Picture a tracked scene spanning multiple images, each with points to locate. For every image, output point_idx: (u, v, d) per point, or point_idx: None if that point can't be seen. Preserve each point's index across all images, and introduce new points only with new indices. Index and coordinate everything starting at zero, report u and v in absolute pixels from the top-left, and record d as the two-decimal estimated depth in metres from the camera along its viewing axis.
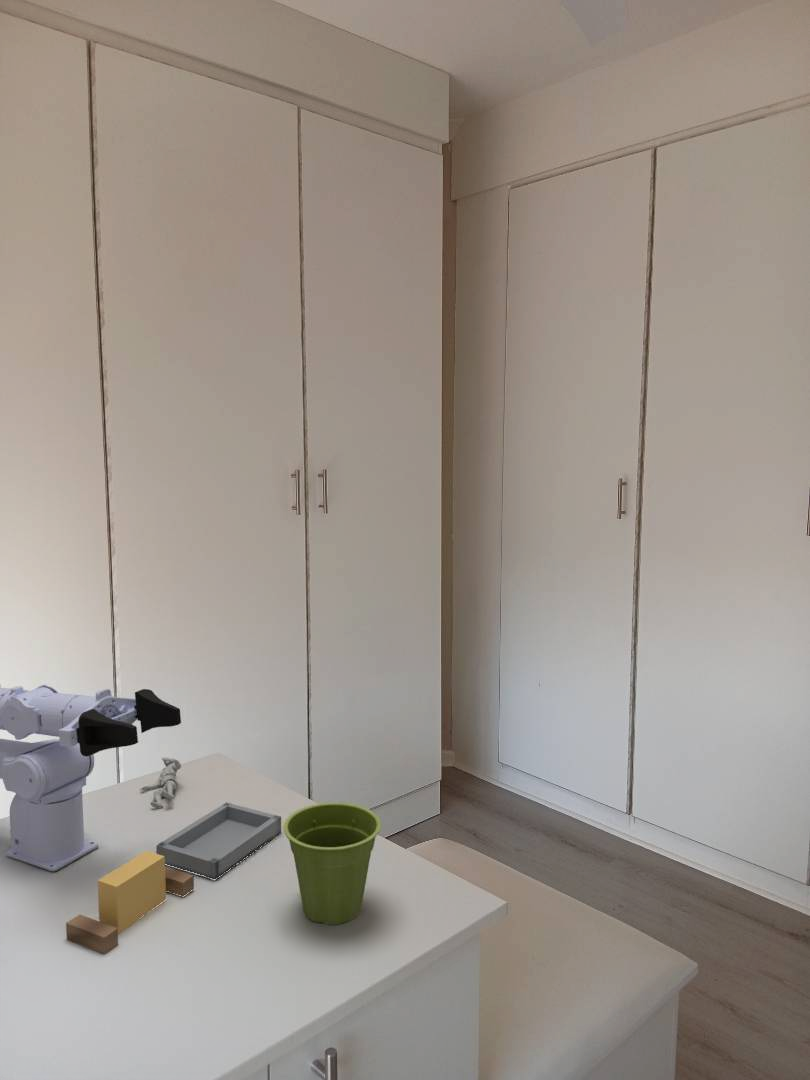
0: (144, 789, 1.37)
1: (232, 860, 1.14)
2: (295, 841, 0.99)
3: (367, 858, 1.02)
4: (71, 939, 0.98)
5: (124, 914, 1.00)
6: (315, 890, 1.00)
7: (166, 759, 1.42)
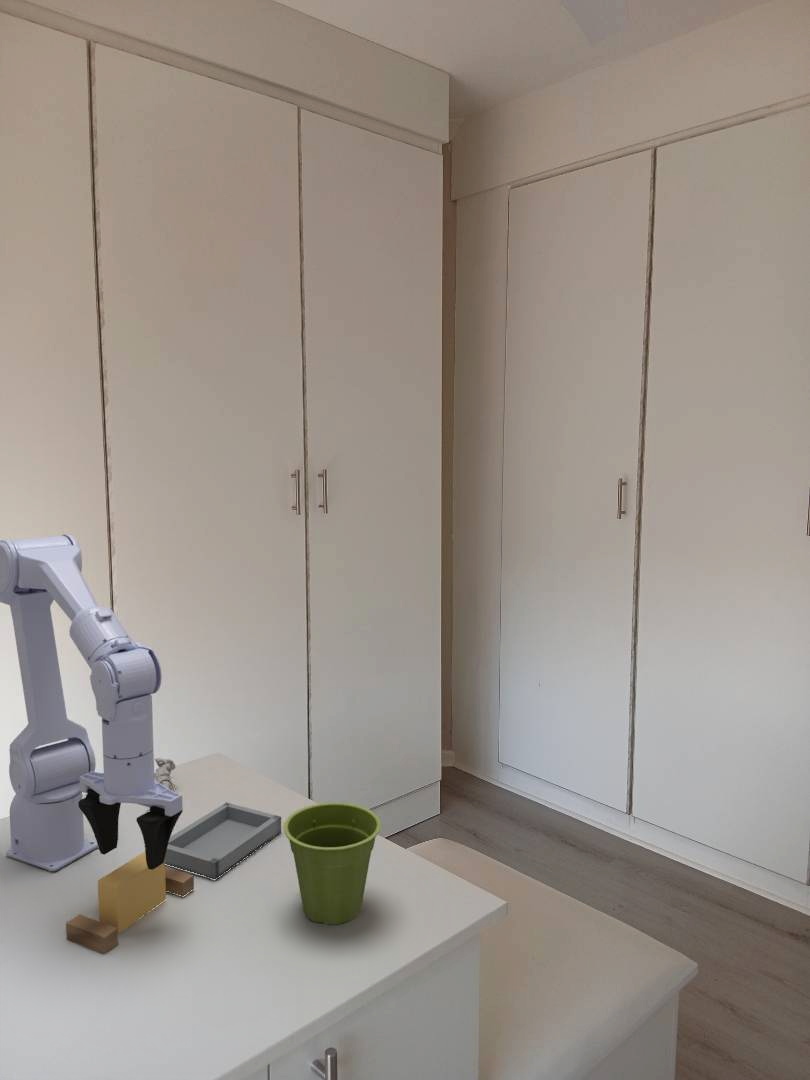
0: None
1: (232, 860, 1.14)
2: (295, 841, 0.99)
3: (367, 858, 1.02)
4: (71, 939, 0.98)
5: (124, 914, 1.00)
6: (315, 890, 1.00)
7: (159, 760, 1.41)
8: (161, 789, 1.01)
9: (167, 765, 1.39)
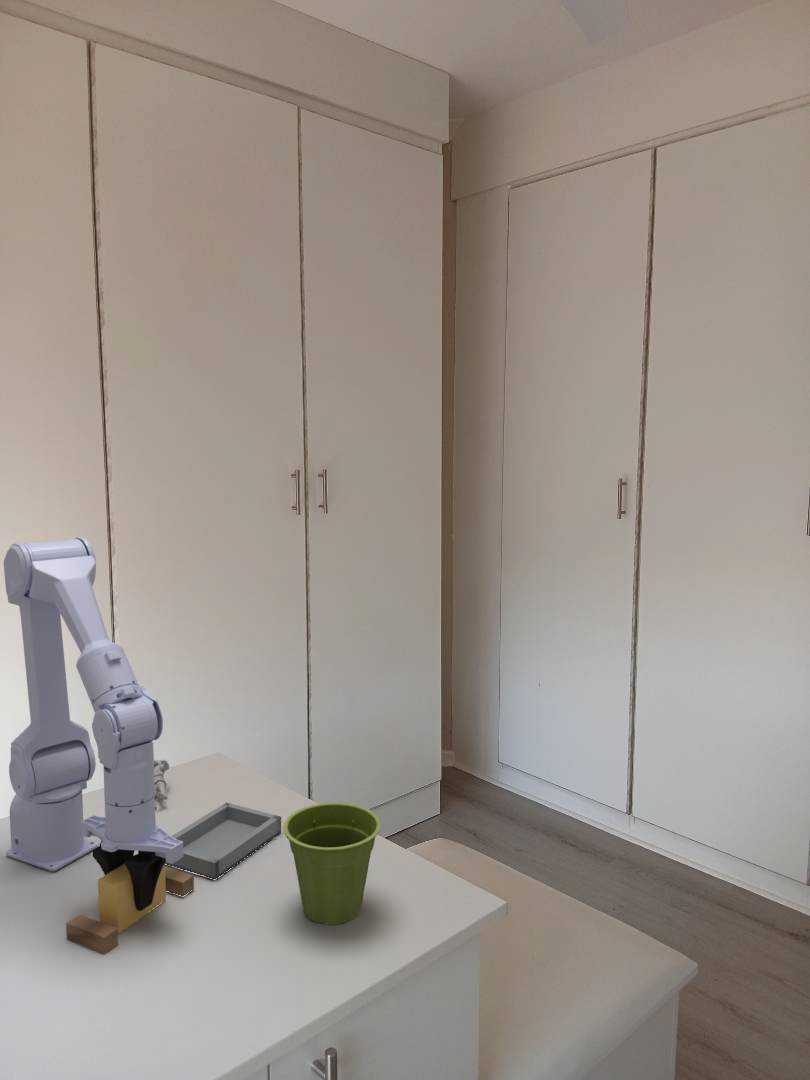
0: None
1: (232, 860, 1.14)
2: (295, 841, 0.99)
3: (367, 858, 1.02)
4: (71, 939, 0.98)
5: (124, 913, 1.00)
6: (315, 890, 1.00)
7: None
8: (162, 835, 1.02)
9: (160, 766, 1.39)
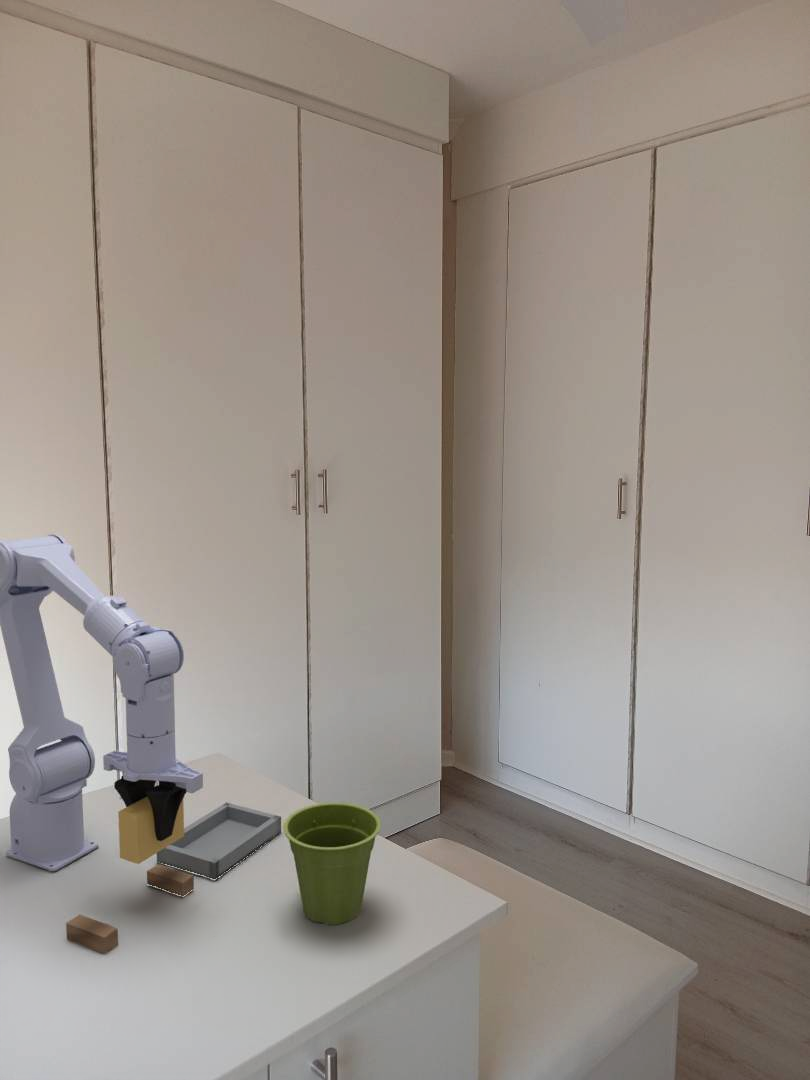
0: None
1: (232, 860, 1.14)
2: (295, 841, 0.99)
3: (367, 858, 1.02)
4: (71, 939, 0.98)
5: (144, 844, 1.02)
6: (315, 890, 1.00)
7: None
8: (182, 767, 1.05)
9: None
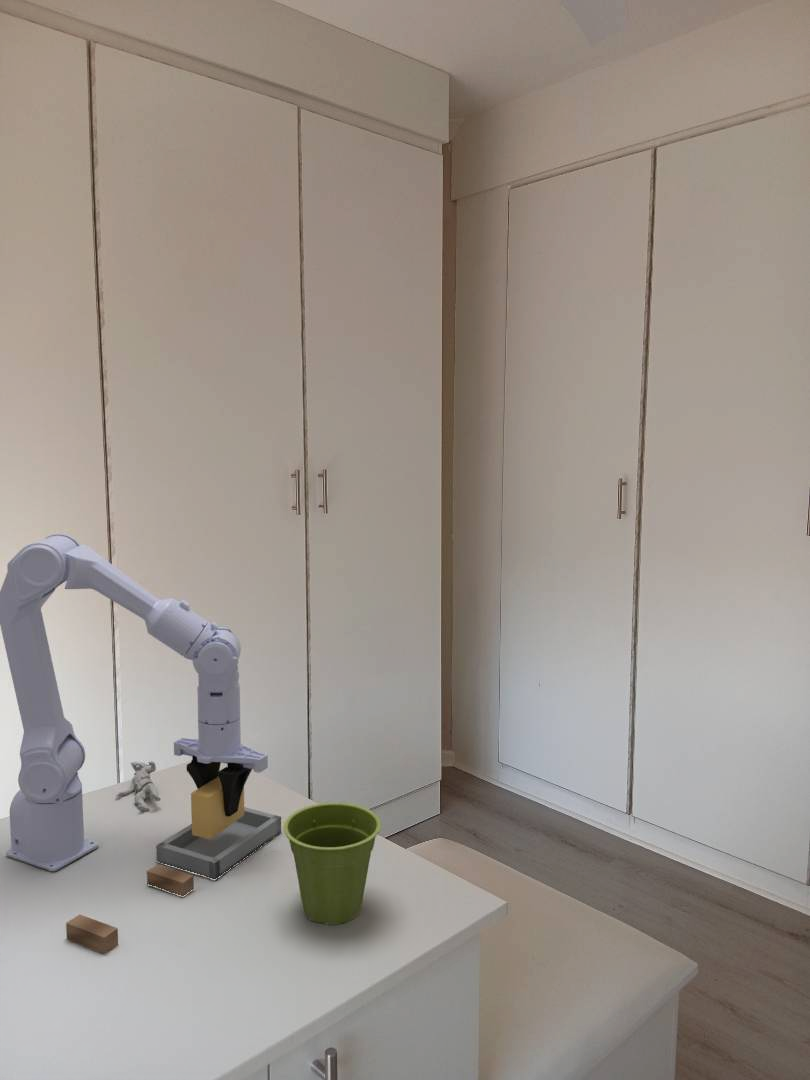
0: (119, 795, 1.35)
1: (232, 860, 1.14)
2: (295, 841, 0.99)
3: (367, 858, 1.02)
4: (71, 939, 0.98)
5: (214, 822, 1.15)
6: (315, 890, 1.00)
7: (135, 763, 1.40)
8: (247, 751, 1.18)
9: (146, 768, 1.38)
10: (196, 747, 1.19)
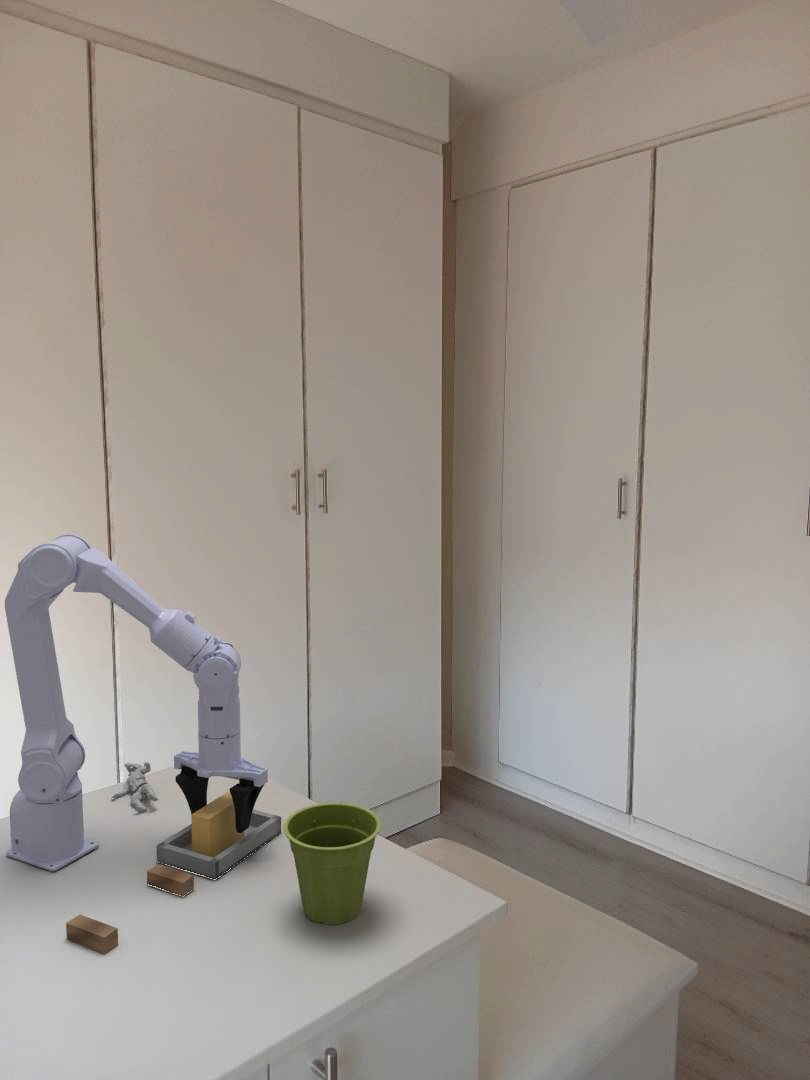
0: (115, 797, 1.34)
1: (232, 860, 1.14)
2: (295, 841, 0.99)
3: (367, 858, 1.02)
4: (71, 939, 0.98)
5: (214, 843, 1.16)
6: (315, 890, 1.00)
7: (129, 765, 1.39)
8: (247, 765, 1.18)
9: (141, 768, 1.38)
10: (196, 761, 1.19)
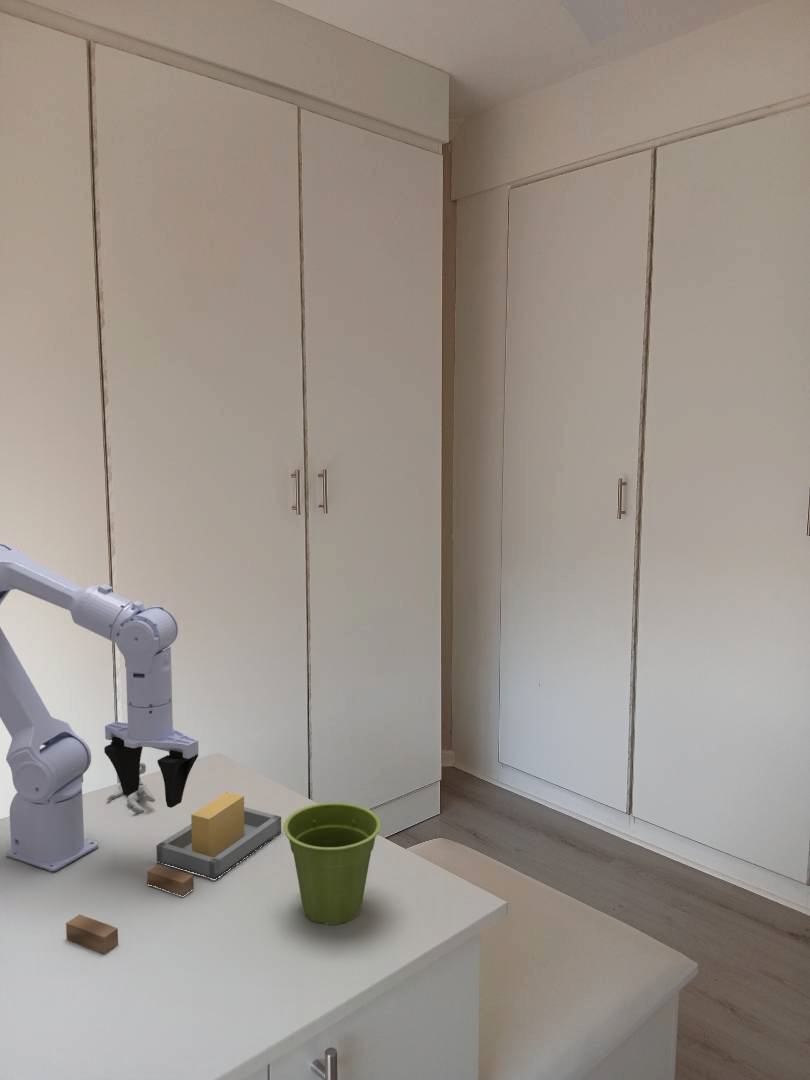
0: (110, 798, 1.34)
1: (232, 860, 1.14)
2: (295, 841, 0.99)
3: (367, 858, 1.02)
4: (71, 939, 0.98)
5: (214, 843, 1.16)
6: (315, 890, 1.00)
7: None
8: (179, 736, 1.12)
9: None
10: (127, 731, 1.14)
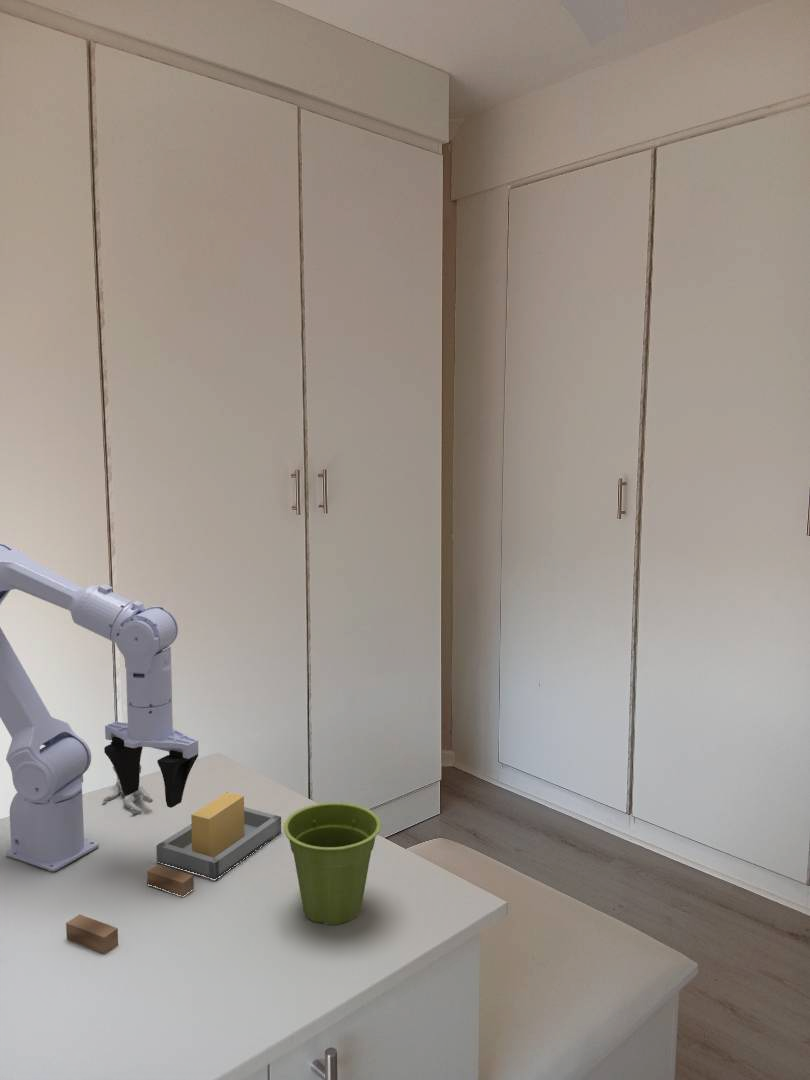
0: (106, 800, 1.33)
1: (232, 860, 1.14)
2: (295, 841, 0.99)
3: (367, 858, 1.02)
4: (71, 939, 0.98)
5: (214, 843, 1.16)
6: (315, 890, 1.00)
7: None
8: (179, 736, 1.12)
9: None
10: (127, 731, 1.14)
